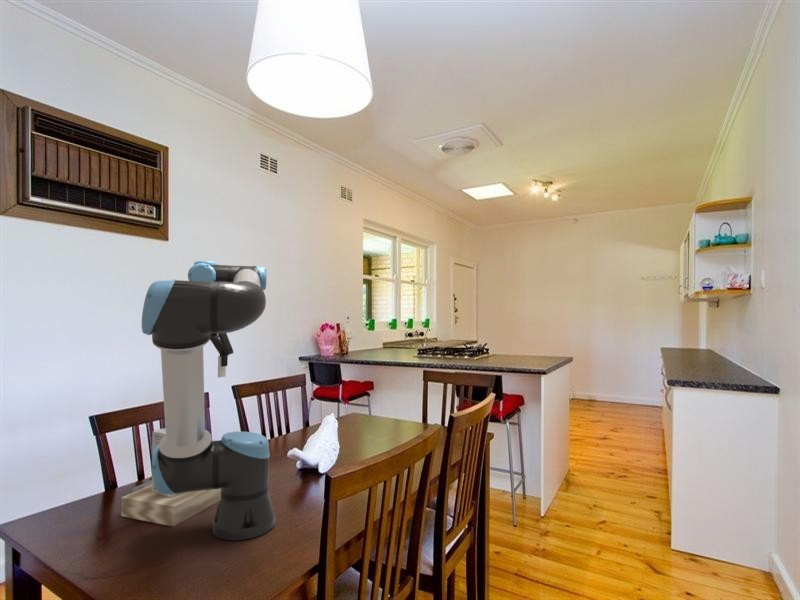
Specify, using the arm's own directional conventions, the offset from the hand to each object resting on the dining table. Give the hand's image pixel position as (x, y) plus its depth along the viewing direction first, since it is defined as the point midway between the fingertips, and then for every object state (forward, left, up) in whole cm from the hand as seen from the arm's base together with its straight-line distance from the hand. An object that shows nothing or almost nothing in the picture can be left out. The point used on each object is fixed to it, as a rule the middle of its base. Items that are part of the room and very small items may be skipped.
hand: (204, 375), depth 141 cm
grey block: (+10, +8, -35) cm, 38 cm away
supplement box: (-4, +15, -30) cm, 34 cm away
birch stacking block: (-4, +15, -35) cm, 38 cm away
